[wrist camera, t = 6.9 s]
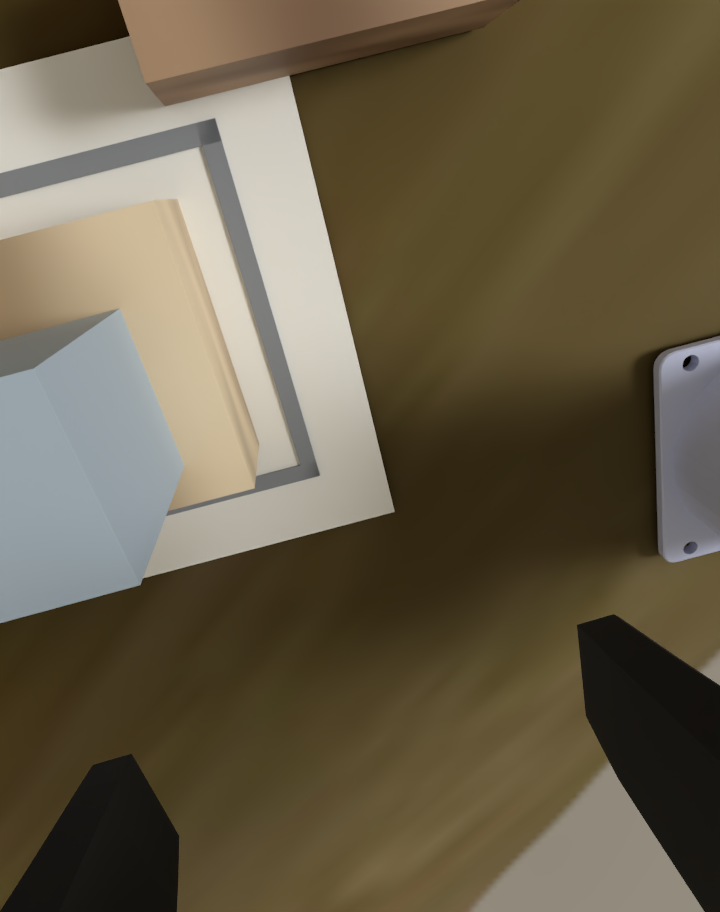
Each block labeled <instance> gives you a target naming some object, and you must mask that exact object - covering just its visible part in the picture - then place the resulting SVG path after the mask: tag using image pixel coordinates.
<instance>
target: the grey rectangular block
mask: <svg viewBox="0 0 720 912" xmlns="http://www.w3.org/2000/svg"><path fill="white" fill-rule="evenodd" d="M184 466H185V465H184V463H183V461H182V458H181V456H180V453H179V451H178V448H177V446H176V444H175V441H174V439H173V436H172V434H171V431H170V429H169V426H168V424H167V422H166V419H165V417H164V414H163V412H162V409H161V407H160V405H159V402H158V400H157V397H156V395H155V392H154V390H153V388H152V385H151V383H150V380H149V378H148V375H147V373H146V370H145V368H144V366H143V363H142V361H141V358H140V356H139V353H138V351H137V349H136V346H135V344H134V341H133V339H132V336H131V334H130V331H129V329H128V327H127V324H126V322H125V319H124V317H123V314H122V312H121V310H120V309H116V310H112V311H109V312H105V313H101V314H97V315H94V316H90V317H86V318H83V319H79V320H75V321H72V322H68V323H64V324H60V325H57V326H53V327H49V328H46V329H42V330H38V331H34V332H31V333H27V334H23V335H20V336H16V337H12V338H9V339H5V340H1V341H0V623H3V622H7V621H10V620H14V619H18V618H21V617H25V616H29V615H32V614H36V613H40V612H43V611H47V610H51V609H54V608H58V607H62V606H65V605H69V604H73V603H76V602H80V601H84V600H87V599H91V598H95V597H98V596H102V595H106V594H109V593H113V592H117V591H120V590H124V589H128V588H132V587H135V586H139V585H141V582H142V579H143V577H144V574H145V571H146V569H147V566H148V563H149V560H150V558H151V555H152V552H153V550H154V547H155V544H156V542H157V539H158V536H159V533H160V531H161V528H162V525H163V523H164V520H165V517H166V515H167V512H168V509H169V507H170V504H171V501H172V498H173V496H174V493H175V490H176V488H177V485H178V482H179V480H180V477H181V474H182V471H183V469H184Z"/></svg>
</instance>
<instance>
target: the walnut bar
mask: <svg viewBox="0 0 720 912" xmlns="http://www.w3.org/2000/svg"><path fill="white" fill-rule="evenodd" d="M518 1H519V0H118V2H119V5H120V8H121V11H122V14H123V17H124V20H125V23H126V26H127V29H128V32H129V35H130V38H131V41H132V44H133V47H134V50H135V53H136V56H137V59H138V62H139V65H140V68H141V71H142V74H143V77H144V80H145V83H146V85H147V86H148V87H149V88H150V89H151V90H152V92H153V93H154V94H155V95H156V96H157V98H158V99H159V100H160V101H161V102H162V104H163V105H164V106H168V105H172V104H177V103H181V102H185V101H189V100H193V99H197V98H201V97H205V96H209V95H213V94H217V93H221V92H225V91H229V90H233V89H237V88H241V87H245V86H249V85H253V84H257V83H261V82H265V81H269V80H273V79H277V78H281V77H285V76H290V75H294V74H298V73H302V72H306V71H310V70H314V69H318V68H322V67H326V66H330V65H334V64H338V63H342V62H346V61H350V60H354V59H358V58H362V57H366V56H370V55H374V54H378V53H382V52H386V51H390V50H394V49H399V48H403V47H407V46H411V45H415V44H419V43H423V42H427V41H431V40H435V39H439V38H443V37H447V36H451V35H455V34H459V33H463V32H467V31H471V30H475V29H479V28H483V27H484V26H486V25H487V24H488V23H490V22H491V21H492V20H494V19H495V18H496V17H498V16H499V15H501V14H502V13H503V12H505V11H506V10H507V9H509V8H510V7H511V6H513V5H514V4H515V3H517V2H518Z"/></svg>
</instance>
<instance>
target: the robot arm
mask: <svg viewBox="0 0 720 912" xmlns="http://www.w3.org/2000/svg"><path fill="white" fill-rule="evenodd" d="M690 355H691V361H690V363H689V364H688V365H687V366H686V367H684V368H683V366H682V365H683V361H684V360H685V359H686V357H688V356H690ZM653 372H654V410H655V448H656V486H657V523H658V551H659V554H660V555H661V556H662V557H663V558H664V559H665V560H666V561H668V562H678V561H682V560H686V559H690V558H693V557H697V556H701V555H705V554H708V553H712V552H716V551H720V336H717V337H713V338H709V339H706V340H702V341H698V342H694V343H690V344H687V345H683V346H679V347H675V348H671V349H668V350H666V351H664V352H662V353H661V354H660V355H659V356H658V357H657V359H656V360H655V362H654V368H653ZM689 542H690V544H689V545H688V546H687V547H685V548H684V546H685V545H686V544H687V543H689ZM577 629H578V639H579V649H580V659H581V669H582V679H583V690H584V700H585V710H586V717H587V719H588V721H589V723H590V725H591V727H592V729H593V730H594V732H595V734H596V736H597V738H598V740H599V742H600V744H601V746H602V748H603V750H604V752H605V754H606V756H607V758H608V760H609V762H610V764H611V766H612V767H613V769H614V771H615V773H616V775H617V777H618V779H619V780H620V782H621V784H622V785H623V787H624V788H625V790H626V791H627V793H628V795H629V796H630V798H631V799H632V801H633V802H634V804H635V806H636V807H637V809H638V810H639V812H640V813H641V815H642V816H643V818H644V819H645V821H646V823H647V824H648V826H649V827H650V829H651V830H652V832H653V833H654V835H655V836H656V838H657V839H658V841H659V842H660V844H661V845H662V847H663V849H664V850H665V852H666V853H667V855H668V856H669V858H670V859H671V861H672V862H673V864H674V865H675V867H676V869H677V870H678V872H679V873H680V875H681V876H682V877H683V879H684V881H685V882H686V884H687V885H688V887H689V888H690V890H691V891H692V893H693V894H694V896H695V897H696V899H697V900H698V902H699V904H700V905H701V907H702V908H703V910H704V911H705V912H720V685H718V684H717V683H715V682H714V681H712V680H711V679H709V678H708V677H706V676H705V675H703V674H702V673H700V672H699V671H697V670H696V669H694V668H693V667H691V666H690V665H688V664H687V663H685V662H684V661H682V660H681V659H679V658H678V657H676V656H675V655H673V654H672V653H670V652H669V651H667V650H666V649H665V648H663V647H662V646H660V645H659V644H657V643H656V642H654V641H653V640H651V639H650V638H649V637H647V636H646V635H644V634H643V633H641V632H640V631H638V630H637V629H636V628H634V627H633V626H631V625H630V624H628V623H627V622H625V621H624V620H622V619H621V618H619V617H618V616H616V615H614V614H613V615H610V616H606V617H603V618H599V619H596V620H593V621H589V622H586V623H582V624H579V625H577ZM178 861H179V835H178V833H177V832H176V830H175V828H174V826H173V825H172V823H171V821H170V819H169V818H168V816H167V814H166V813H165V811H164V809H163V807H162V806H161V804H160V802H159V800H158V799H157V797H156V795H155V793H154V792H153V790H152V788H151V787H150V785H149V783H148V781H147V780H146V778H145V776H144V774H143V773H142V771H141V769H140V768H139V766H138V764H137V762H136V761H135V759H134V757H133V755H132V754H130V755H126V756H123V757H119V758H116V759H112V760H109V761H105V762H102V763H99V764H95V765H93V766H92V768H91V769H90V771H89V772H88V774H87V775H86V777H85V778H84V780H83V781H82V783H81V785H80V786H79V788H78V789H77V791H76V792H75V794H74V796H73V797H72V799H71V800H70V802H69V804H68V805H67V807H66V808H65V810H64V812H63V813H62V815H61V816H60V818H59V820H58V821H57V823H56V824H55V826H54V828H53V829H52V831H51V832H50V834H49V836H48V837H47V839H46V840H45V842H44V844H43V845H42V847H41V848H40V850H39V851H38V853H37V855H36V856H35V858H34V859H33V861H32V863H31V864H30V866H29V867H28V869H27V871H26V872H25V874H24V875H23V877H22V878H21V880H20V881H19V883H18V885H17V886H16V888H15V889H14V891H13V892H12V894H11V895H10V897H9V898H8V900H7V902H6V903H5V905H4V906H3V908H2V909H1V911H0V912H177V892H178Z"/></svg>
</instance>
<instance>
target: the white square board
mask: <svg viewBox="0 0 720 912" xmlns="http://www.w3.org/2000/svg"><path fill="white" fill-rule="evenodd" d="M168 199H178V202H179V205H180V208H181V211H182V214H183V217H184V220H185V223H186V226H187V229H188V232H189V235H190V238H191V241H192V244H193V247H194V250H195V253H196V256H197V259H198V262H199V265H200V268H201V271H202V274H203V277H204V280H205V283H206V286H207V289H208V292H209V295H210V298H211V301H212V304H213V307H214V310H215V313H216V316H217V319H218V322H219V325H220V328H221V331H222V334H223V337H224V340H225V343H226V346H227V349H228V352H229V355H230V358H231V361H232V364H233V367H234V370H235V373H236V376H237V379H238V382H239V385H240V388H241V391H242V394H243V397H244V400H245V403H246V406H247V409H248V412H249V415H250V418H251V421H252V424H253V426H254V429H255V432H256V435H257V438H258V441H259V452H258V461H257V471H256V480H255V488H254V489H250V490H247V491H243V492H239V493H235V494H231V495H228V496H224V497H220V498H216V499H212V500H208V501H205V502H201V503H197V504H193V505H189V506H186V507H182V508H178V509H174V510H170V511H168V512H167V515H166V517H165V520H164V523H163V525H162V528H161V531H160V533H159V536H158V539H157V542H156V544H155V547H154V550H153V552H152V555H151V558H150V560H149V563H148V566H147V569H146V571H145V574H144V577H143V578H146V577H150V576H153V575H157V574H161V573H165V572H169V571H172V570H176V569H180V568H184V567H188V566H191V565H195V564H199V563H203V562H207V561H210V560H214V559H218V558H222V557H226V556H229V555H233V554H237V553H241V552H245V551H248V550H252V549H256V548H260V547H263V546H267V545H271V544H275V543H279V542H282V541H286V540H290V539H294V538H298V537H301V536H305V535H309V534H313V533H317V532H320V531H324V530H328V529H332V528H336V527H339V526H343V525H347V524H351V523H355V522H358V521H362V520H366V519H370V518H374V517H377V516H381V515H385V514H389V513H392V512H395V511H394V507H393V503H392V499H391V494H390V490H389V486H388V482H387V478H386V474H385V470H384V466H383V461H382V457H381V453H380V449H379V445H378V441H377V437H376V432H375V428H374V424H373V420H372V416H371V412H370V408H369V404H368V399H367V395H366V391H365V387H364V383H363V379H362V375H361V370H360V366H359V362H358V358H357V354H356V350H355V346H354V342H353V337H352V333H351V329H350V325H349V321H348V317H347V313H346V308H345V304H344V300H343V296H342V292H341V288H340V284H339V280H338V275H337V271H336V267H335V263H334V259H333V255H332V251H331V246H330V242H329V238H328V234H327V230H326V226H325V222H324V218H323V213H322V209H321V205H320V201H319V197H318V193H317V189H316V184H315V180H314V176H313V172H312V168H311V164H310V160H309V156H308V151H307V147H306V143H305V139H304V135H303V131H302V127H301V122H300V118H299V114H298V110H297V106H296V102H295V98H294V94H293V89H292V85H291V81H290V77H289V76H285V77H281V78H277V79H273V80H269V81H265V82H261V83H257V84H253V85H249V86H245V87H241V88H237V89H233V90H229V91H225V92H221V93H217V94H213V95H209V96H205V97H201V98H197V99H193V100H189V101H185V102H181V103H177V104H172V105H168V106H164V105H163V104H162V102H161V101H160V100H159V99H158V98H157V96H156V95H155V94H154V93H153V92H152V90H151V89H150V88H149V87H148V86H147V85H146V83H145V80H144V77H143V74H142V71H141V68H140V65H139V62H138V59H137V56H136V53H135V50H134V47H133V44H132V41H131V38H130V36H129V37H125V38H121V39H117V40H113V41H109V42H105V43H102V44H98V45H94V46H90V47H86V48H82V49H78V50H74V51H70V52H66V53H62V54H59V55H55V56H51V57H47V58H43V59H39V60H35V61H31V62H27V63H23V64H19V65H16V66H12V67H8V68H4V69H0V240H2V239H6V238H10V237H14V236H17V235H21V234H25V233H29V232H33V231H37V230H41V229H45V228H48V227H52V226H56V225H60V224H64V223H68V222H72V221H76V220H79V219H83V218H87V217H91V216H95V215H99V214H103V213H107V212H110V211H114V210H118V209H122V208H126V207H130V206H134V205H138V204H141V203H145V202H149V201H153V200H168Z"/></svg>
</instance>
